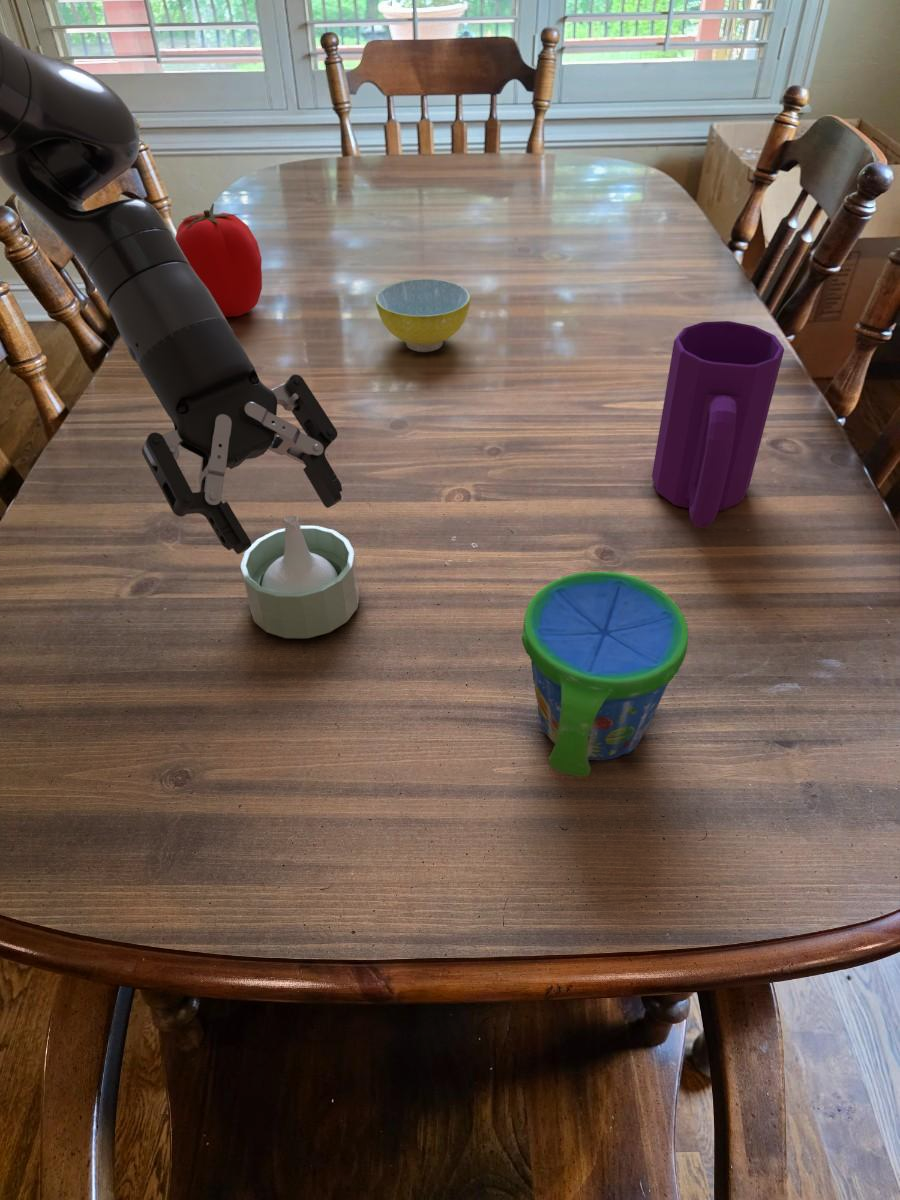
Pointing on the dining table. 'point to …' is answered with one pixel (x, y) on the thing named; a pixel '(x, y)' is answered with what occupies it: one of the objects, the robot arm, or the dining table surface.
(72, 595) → the dining table surface
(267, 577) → the garlic bulb
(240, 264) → the tomato
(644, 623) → the snack cup
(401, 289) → the bowl
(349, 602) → the dish
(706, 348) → the mug
